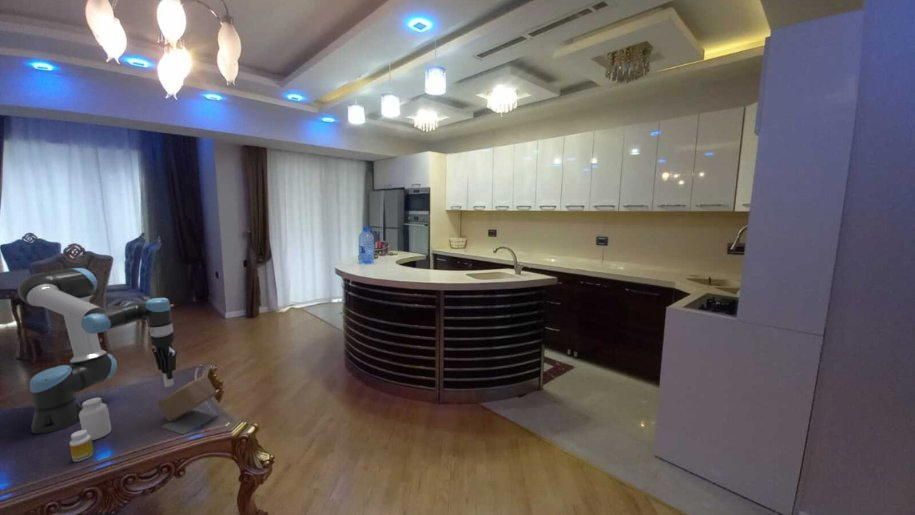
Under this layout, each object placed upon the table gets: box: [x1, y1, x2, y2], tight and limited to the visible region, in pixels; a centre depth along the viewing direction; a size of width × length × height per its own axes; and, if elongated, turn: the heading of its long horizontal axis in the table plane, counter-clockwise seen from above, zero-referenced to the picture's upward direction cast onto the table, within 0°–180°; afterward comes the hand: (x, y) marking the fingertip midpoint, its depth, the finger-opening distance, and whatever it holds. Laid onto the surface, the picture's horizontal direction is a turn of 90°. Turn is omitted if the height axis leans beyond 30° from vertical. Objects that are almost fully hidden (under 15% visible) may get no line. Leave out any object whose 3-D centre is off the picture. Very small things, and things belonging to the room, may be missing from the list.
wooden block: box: [157, 375, 217, 422], centre depth 150 cm, size 10×10×20 cm
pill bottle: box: [79, 397, 112, 441], centre depth 140 cm, size 8×8×15 cm
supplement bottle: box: [69, 429, 94, 462], centre depth 128 cm, size 5×5×10 cm
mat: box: [160, 407, 218, 436], centre depth 150 cm, size 14×14×1 cm
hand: (169, 385), depth 151 cm, fingers closed
